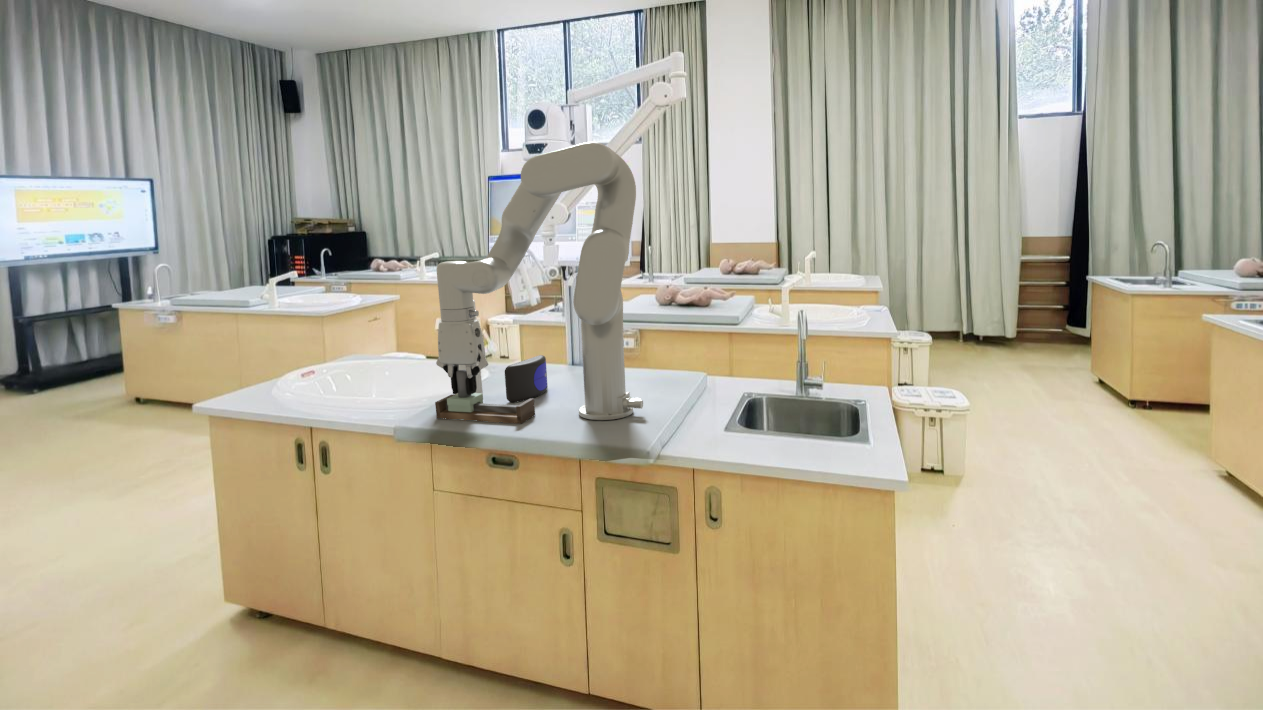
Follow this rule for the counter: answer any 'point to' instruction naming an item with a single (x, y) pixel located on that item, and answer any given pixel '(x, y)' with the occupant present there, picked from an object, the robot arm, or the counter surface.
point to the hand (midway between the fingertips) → (464, 392)
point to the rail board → (489, 412)
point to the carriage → (463, 396)
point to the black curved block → (526, 379)
